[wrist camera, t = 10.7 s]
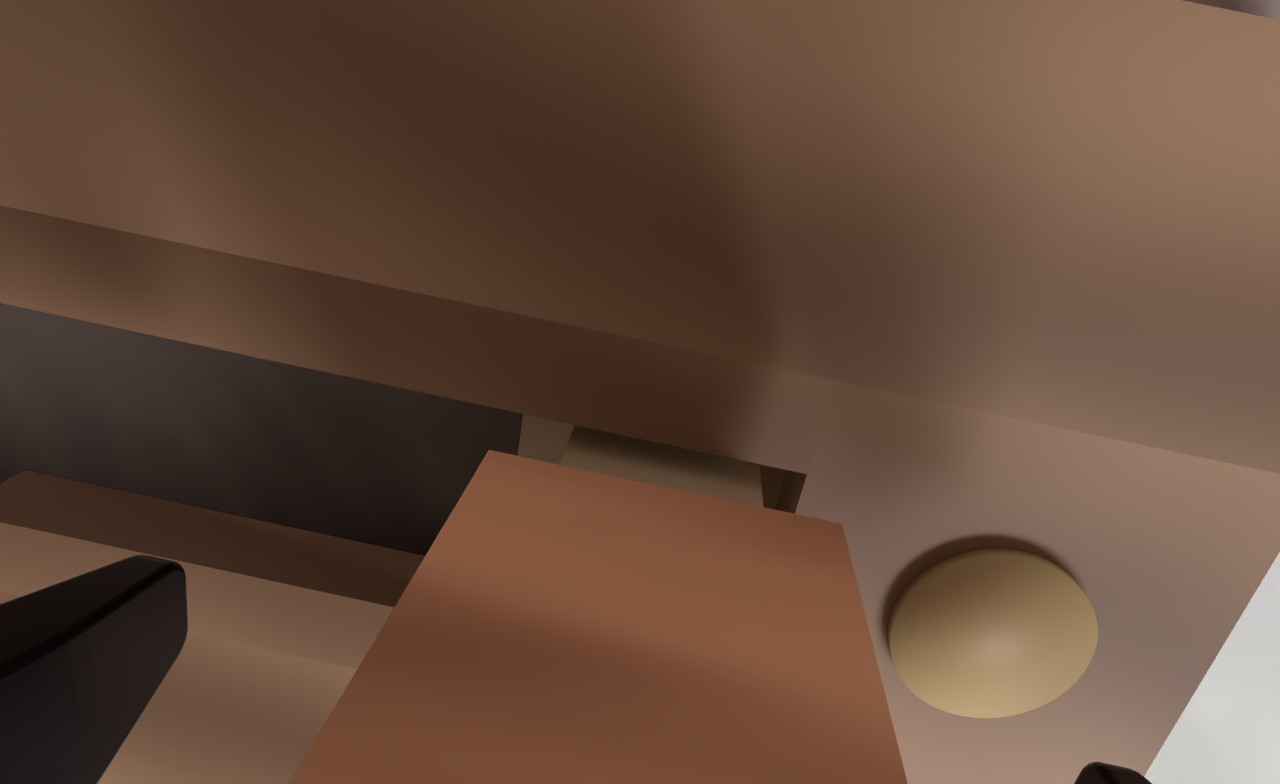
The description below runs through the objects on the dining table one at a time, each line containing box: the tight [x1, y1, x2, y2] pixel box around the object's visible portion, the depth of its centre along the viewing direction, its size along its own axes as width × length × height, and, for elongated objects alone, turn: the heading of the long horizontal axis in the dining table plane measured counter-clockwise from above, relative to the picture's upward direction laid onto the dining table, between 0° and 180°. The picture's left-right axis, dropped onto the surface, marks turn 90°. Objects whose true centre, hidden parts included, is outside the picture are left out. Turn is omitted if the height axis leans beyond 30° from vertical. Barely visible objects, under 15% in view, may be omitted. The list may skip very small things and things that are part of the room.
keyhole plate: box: [0, 0, 1280, 784], centre depth 12 cm, size 14×26×4 cm, turn 79°
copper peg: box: [289, 414, 908, 784], centre depth 9 cm, size 4×4×10 cm
